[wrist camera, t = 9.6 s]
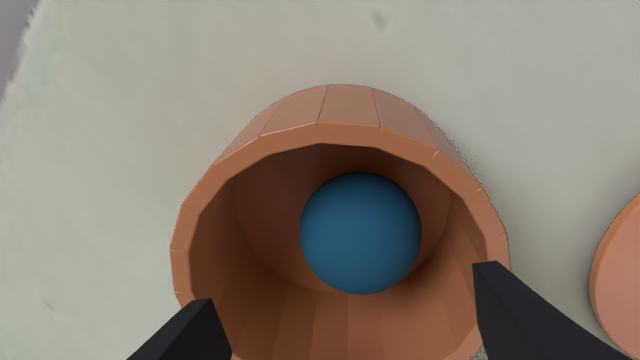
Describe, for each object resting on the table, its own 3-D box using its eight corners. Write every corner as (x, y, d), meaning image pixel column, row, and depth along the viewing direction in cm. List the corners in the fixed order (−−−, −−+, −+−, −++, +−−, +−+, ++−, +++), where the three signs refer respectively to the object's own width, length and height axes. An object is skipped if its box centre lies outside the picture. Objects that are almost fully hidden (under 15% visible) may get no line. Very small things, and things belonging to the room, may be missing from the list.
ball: (275, 176, 15) (305, 222, 11) (379, 144, 16) (441, 177, 12) (300, 271, 17) (334, 340, 13) (394, 237, 18) (453, 293, 14)
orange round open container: (219, 75, 15) (153, 108, 10) (485, 93, 15) (554, 138, 10) (228, 288, 19) (183, 389, 14) (439, 307, 19) (471, 419, 14)
